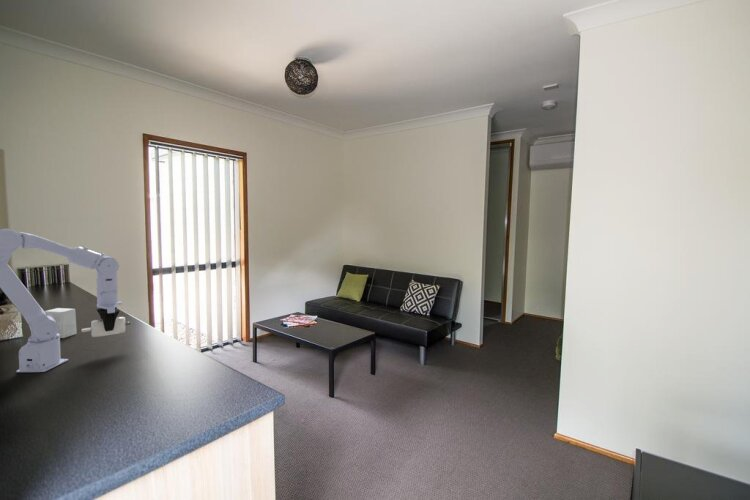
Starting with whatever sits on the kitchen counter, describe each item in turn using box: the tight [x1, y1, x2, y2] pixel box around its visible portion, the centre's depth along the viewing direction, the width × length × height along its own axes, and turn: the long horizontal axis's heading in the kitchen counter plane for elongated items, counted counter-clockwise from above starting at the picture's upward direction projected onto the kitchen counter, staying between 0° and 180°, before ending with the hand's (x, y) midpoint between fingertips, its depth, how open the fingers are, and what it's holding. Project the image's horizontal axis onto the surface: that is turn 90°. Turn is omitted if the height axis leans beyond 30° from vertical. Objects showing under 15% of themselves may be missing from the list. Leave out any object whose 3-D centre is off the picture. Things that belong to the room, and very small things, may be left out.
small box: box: [44, 307, 77, 339], centre depth 138 cm, size 8×6×10 cm
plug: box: [81, 316, 131, 338], centre depth 121 cm, size 13×4×5 cm, turn 135°
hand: (108, 329), depth 122 cm, fingers closed on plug, 3 cm apart
